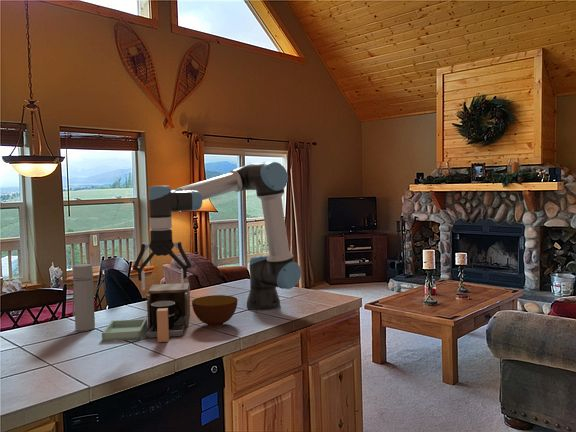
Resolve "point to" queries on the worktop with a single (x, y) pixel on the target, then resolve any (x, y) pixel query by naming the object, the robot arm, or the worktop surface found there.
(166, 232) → the robot arm
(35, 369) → the worktop surface
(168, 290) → the bay
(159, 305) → the mug
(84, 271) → the water bottle
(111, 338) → the tray
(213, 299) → the bowl
